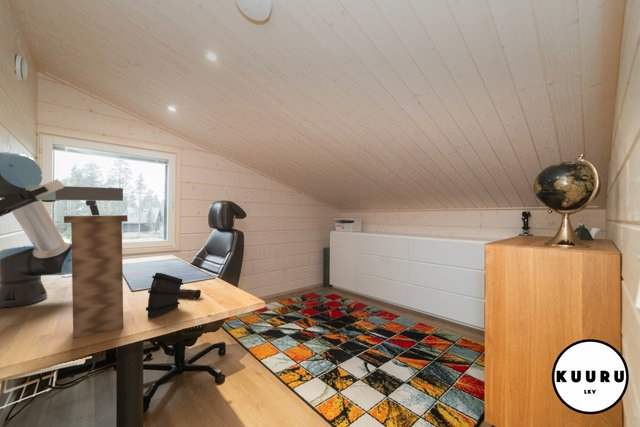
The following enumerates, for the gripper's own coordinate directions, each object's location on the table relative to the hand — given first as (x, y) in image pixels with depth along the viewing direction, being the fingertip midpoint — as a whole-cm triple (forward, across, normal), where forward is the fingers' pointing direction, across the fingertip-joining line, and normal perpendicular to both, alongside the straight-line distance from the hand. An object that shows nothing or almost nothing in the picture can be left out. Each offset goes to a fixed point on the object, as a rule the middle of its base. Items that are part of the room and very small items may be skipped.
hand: (61, 184), depth 82 cm
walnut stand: (-15, 0, -44) cm, 46 cm away
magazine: (+1, -3, -53) cm, 53 cm away
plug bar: (+1, 0, -6) cm, 6 cm away
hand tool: (+7, -18, -57) cm, 60 cm away
